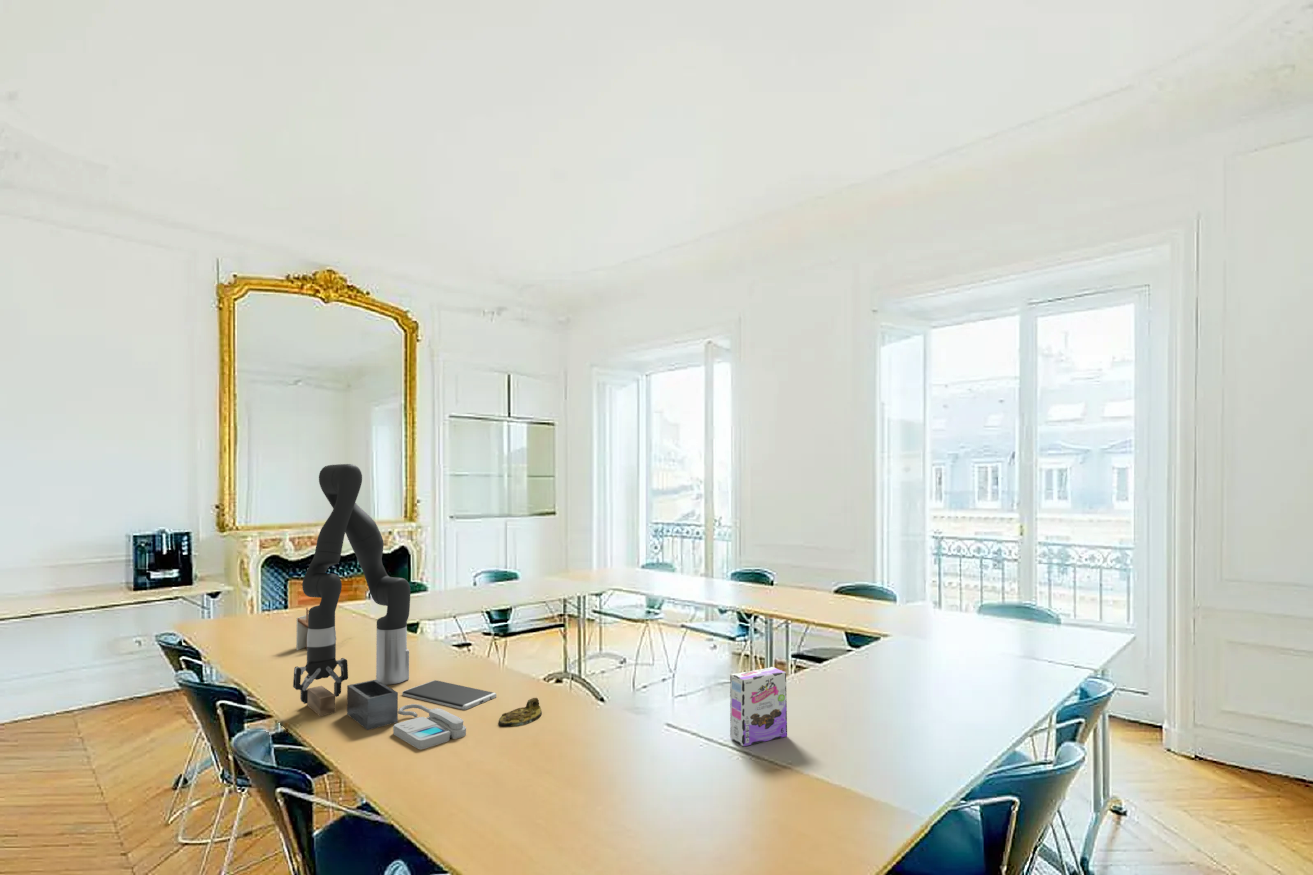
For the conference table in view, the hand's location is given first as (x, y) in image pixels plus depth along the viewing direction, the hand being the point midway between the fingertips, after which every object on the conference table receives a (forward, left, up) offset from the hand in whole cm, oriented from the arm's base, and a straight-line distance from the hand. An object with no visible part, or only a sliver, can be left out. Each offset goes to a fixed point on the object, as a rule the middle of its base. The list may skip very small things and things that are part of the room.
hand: (320, 699), depth 201 cm
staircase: (-20, -75, -3) cm, 78 cm away
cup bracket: (-8, +18, -3) cm, 20 cm away
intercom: (-15, +35, -3) cm, 38 cm away
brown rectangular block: (0, 0, -3) cm, 3 cm away
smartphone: (-32, +15, -3) cm, 36 cm away
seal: (-38, +46, -3) cm, 60 cm away
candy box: (-75, +100, -3) cm, 125 cm away
